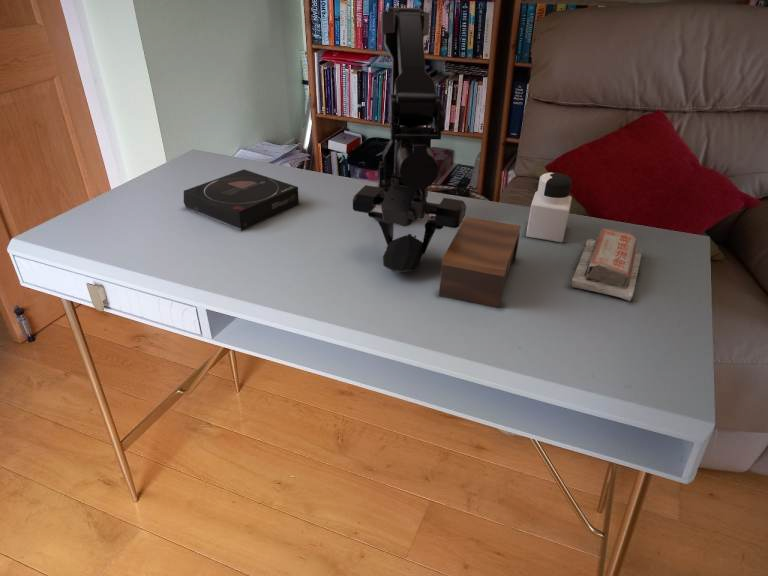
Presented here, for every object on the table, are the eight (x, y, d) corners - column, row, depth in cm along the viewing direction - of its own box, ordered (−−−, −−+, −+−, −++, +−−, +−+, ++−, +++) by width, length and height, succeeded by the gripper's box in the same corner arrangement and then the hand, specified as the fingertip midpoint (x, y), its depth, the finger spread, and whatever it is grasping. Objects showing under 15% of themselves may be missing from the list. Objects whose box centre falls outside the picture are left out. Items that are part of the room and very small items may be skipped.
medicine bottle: (565, 228, 120) (577, 172, 114) (562, 243, 115) (574, 185, 108) (530, 222, 122) (539, 167, 116) (525, 237, 116) (535, 179, 110)
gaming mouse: (431, 239, 111) (433, 220, 109) (414, 277, 99) (415, 257, 97) (399, 234, 113) (399, 215, 111) (378, 272, 100) (378, 251, 98)
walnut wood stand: (461, 250, 111) (465, 216, 107) (515, 260, 108) (521, 225, 104) (438, 295, 97) (442, 258, 93) (499, 308, 94) (505, 270, 91)
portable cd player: (243, 185, 135) (241, 168, 133) (298, 204, 127) (297, 187, 125) (184, 207, 124) (181, 189, 121) (241, 230, 115) (239, 211, 113)
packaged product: (591, 222, 112) (647, 233, 108) (586, 245, 114) (640, 257, 111) (575, 263, 98) (638, 277, 94) (569, 288, 100) (631, 303, 97)
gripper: (339, 174, 93) (340, 260, 101) (455, 192, 88) (446, 281, 96) (364, 152, 102) (363, 233, 110) (470, 168, 97) (461, 251, 105)
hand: (406, 249), depth 105 cm, fingers closed on gaming mouse, 6 cm apart
